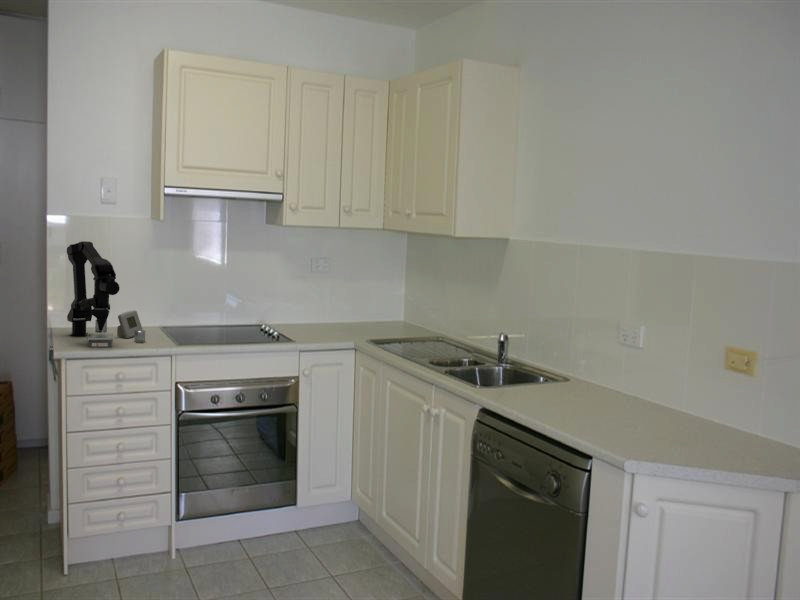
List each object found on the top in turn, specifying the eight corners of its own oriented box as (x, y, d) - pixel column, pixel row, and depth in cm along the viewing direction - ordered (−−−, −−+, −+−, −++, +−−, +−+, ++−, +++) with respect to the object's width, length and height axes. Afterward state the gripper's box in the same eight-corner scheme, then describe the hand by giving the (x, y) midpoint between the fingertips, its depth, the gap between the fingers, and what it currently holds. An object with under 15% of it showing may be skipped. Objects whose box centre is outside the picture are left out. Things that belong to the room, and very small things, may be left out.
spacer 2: (134, 341, 317) (134, 329, 316) (145, 341, 318) (145, 329, 318) (134, 343, 313) (134, 331, 312) (145, 343, 314) (145, 331, 314)
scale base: (89, 342, 308) (89, 337, 307) (112, 342, 311) (112, 337, 310) (87, 347, 298) (87, 342, 298) (111, 347, 301) (111, 342, 301)
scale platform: (89, 335, 307) (89, 333, 307) (112, 335, 310) (112, 333, 310) (87, 339, 298) (87, 337, 298) (111, 339, 301) (111, 337, 301)
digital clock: (127, 339, 320) (127, 315, 319) (109, 337, 323) (109, 313, 321) (149, 334, 336) (149, 311, 335) (131, 332, 338) (132, 309, 337)
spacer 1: (95, 330, 308) (95, 319, 307) (106, 331, 309) (107, 319, 309) (95, 332, 304) (95, 320, 303) (106, 332, 305) (106, 320, 305)
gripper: (82, 288, 311) (81, 325, 312) (78, 294, 293) (78, 333, 295) (110, 289, 314) (109, 325, 316) (108, 295, 297) (107, 333, 299)
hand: (100, 329), depth 306 cm, fingers closed on spacer 1, 4 cm apart
